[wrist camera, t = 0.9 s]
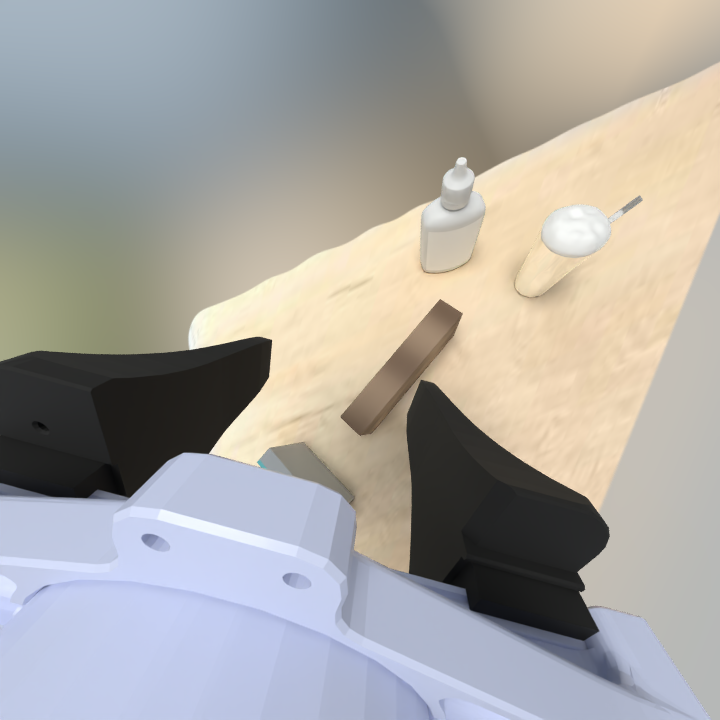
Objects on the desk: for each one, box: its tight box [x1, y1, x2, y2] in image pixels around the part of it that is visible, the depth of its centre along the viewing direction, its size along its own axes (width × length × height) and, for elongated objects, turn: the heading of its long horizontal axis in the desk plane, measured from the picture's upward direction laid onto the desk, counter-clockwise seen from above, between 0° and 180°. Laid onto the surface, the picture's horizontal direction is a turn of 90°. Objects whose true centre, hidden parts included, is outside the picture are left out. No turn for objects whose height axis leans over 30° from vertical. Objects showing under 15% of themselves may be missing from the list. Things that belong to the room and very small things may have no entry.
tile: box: [257, 442, 354, 503], centre depth 24 cm, size 8×2×7 cm, turn 48°
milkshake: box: [515, 196, 642, 298], centre depth 23 cm, size 4×5×10 cm
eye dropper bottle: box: [420, 157, 485, 273], centre depth 25 cm, size 4×6×12 cm
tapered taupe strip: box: [341, 299, 463, 436], centre depth 25 cm, size 14×2×6 cm, turn 138°
